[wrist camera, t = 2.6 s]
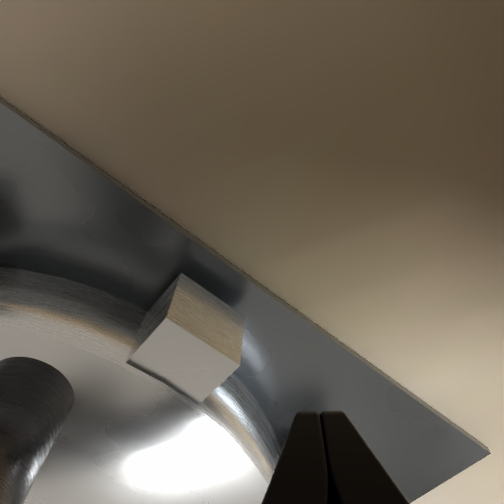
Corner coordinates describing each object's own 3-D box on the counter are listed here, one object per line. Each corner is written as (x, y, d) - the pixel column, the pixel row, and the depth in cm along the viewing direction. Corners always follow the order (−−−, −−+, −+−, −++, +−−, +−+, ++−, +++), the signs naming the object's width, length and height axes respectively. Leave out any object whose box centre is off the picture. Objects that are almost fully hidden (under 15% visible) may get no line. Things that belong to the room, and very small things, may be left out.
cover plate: (-185, -36, 8) (-194, -37, 8) (487, 447, 13) (490, 453, 13) (-337, 480, 15) (-344, 485, 15) (138, 665, 20) (137, 671, 20)
